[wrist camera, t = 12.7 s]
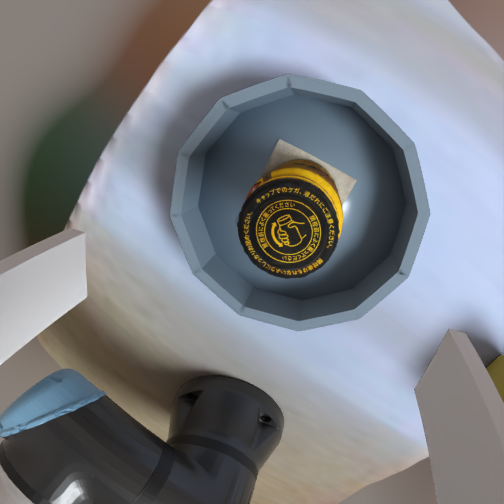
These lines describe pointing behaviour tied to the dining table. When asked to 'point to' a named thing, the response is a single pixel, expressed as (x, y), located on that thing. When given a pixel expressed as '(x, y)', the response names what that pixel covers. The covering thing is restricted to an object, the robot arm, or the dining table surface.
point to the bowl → (354, 208)
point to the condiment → (293, 213)
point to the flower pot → (497, 374)
